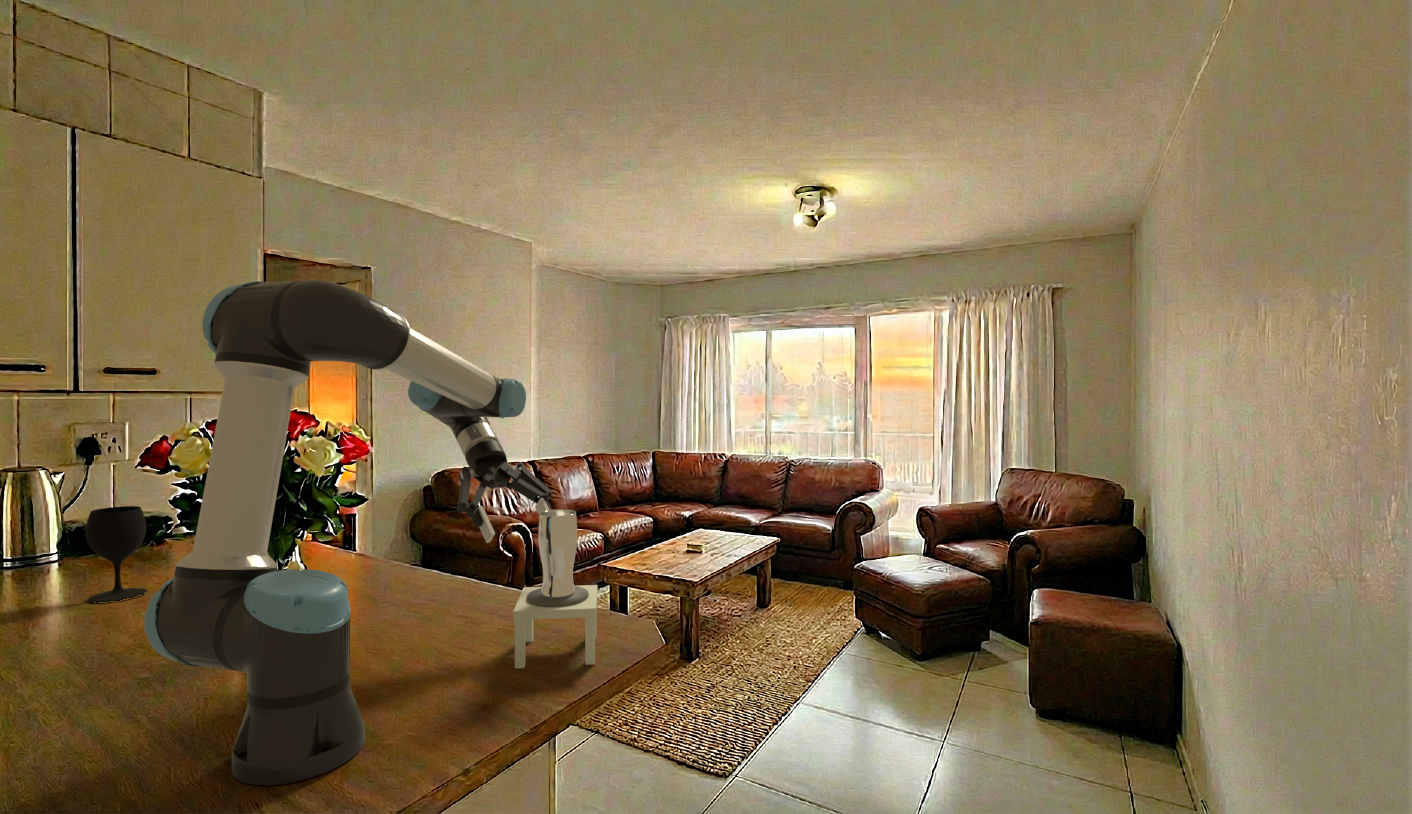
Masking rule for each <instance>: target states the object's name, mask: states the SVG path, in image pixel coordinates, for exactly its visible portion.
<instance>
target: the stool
mask: <svg viewBox="0 0 1412 814" xmlns="http://www.w3.org/2000/svg"><path fill="white" fill-rule="evenodd" d="M574 588H575V594H574V595H572V596H570V597H567V598H562V599H549V598H544V597H543V596H541V590H542V586H535V587H534V586H529V587H528V586H527V587H523V588H522V590H521V592H520V595H519V597H518V600H517V602H516V605H515V607H514V609H513V611H512V615H513V616H512V617H513V618H512V619H513V621H514V669H525V667H526V643H533V641H534V620H552V619H555V620H556V619H574V618H575V619H576V618H577V619H578V618H585V619H584V621H585V625H584V626H585V628H584V629H585V632H584V633H585V636H584V637H585V642H584V643H585V647H584V648H585V652H584V653H585V654H584V655H585V657H584V661H585V662H584V663H585V665H586V666H588V665H589V666H591V665H595V664H596V663H595V662H596V640H597V603H598V584H590V585H589V584H588V585H586V584H585V585H574Z"/></svg>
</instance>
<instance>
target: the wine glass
mask: <svg viewBox="0 0 1412 814" xmlns="http://www.w3.org/2000/svg"><path fill="white" fill-rule="evenodd" d="M86 521H87V522H86V525H85V537H86V542H87V544H88V546H89V548H90V549H91V550H92V552H94V553H95V554H96V555H98V556H99V557H102V558H103V559H104V560H108V561H110V562H111V563H112V565H113V569H114V587H113V589H112V590H107V591H104V592H99V593H97V594H96V593H95V594H94V595H91V596H90V597H88V599H87V602H88V601H90V602H96V603H99V602H110V601H120V600H123V599H127V598H133V597H136V596H138V595H143V594H144V593H145V592H147V593H148V590H147V589H145V588H141V587H127V588H123V585H122V581H121V579H122V578H121V571H122V570H121V568H122V562H123V561H124V560H125V559H126V558H128V557H129V556H131V555H132V554H133V553H134V552H136V550H138V548H139V547H141V545H142V543H143V542H144V539H145V537H146V533H147V522H146V517H145V514H144V512H143V509H142V508H141V506H137V505H134V506H133V505H128V506H127V505H126V506H124V505H123V506H122V505H121V506H113V507H112V506H111V507H104V508H98V509H93V510H91V511H90V512H89V515H88V517H87V520H86ZM143 596H144V595H143ZM90 602H89V603H90ZM120 602H121V601H120ZM96 603H95V604H96Z"/></svg>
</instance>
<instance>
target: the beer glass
mask: <svg viewBox="0 0 1412 814" xmlns="http://www.w3.org/2000/svg"><path fill="white" fill-rule="evenodd" d="M577 523H578V522H577V512H576V511H575V510H573V509H561V508H560V509H552V510H547V511H543V512H540V516H539V520H538V533H537V534H538V535H537V536H538V537H537V538H538V540H537V541H538V548H539V550H538V551H539V555H540V561H541V564H542V565H541V567H542V576H543V577H542V585H541V587H542V590H541V596H543V597H544V598H549V599H562V598H567V597H570V596H572V595H574V594H575V588H574V586H575V584H574V577H573V575H574V574H573V573H574V564H575V559H576V553H577V545H578V524H577Z"/></svg>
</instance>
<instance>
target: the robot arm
mask: <svg viewBox="0 0 1412 814" xmlns="http://www.w3.org/2000/svg"><path fill="white" fill-rule="evenodd" d="M201 325H202V326H201V327H202V335H203V338H204V339H205V340H207V341H208V343H207V345H208V347H209V349H210V350H211V351H212V352H213V353H214V354H215V359H214V364H213V366H214V367H215V369H216V370H217V371H218V372H219V373H220V374H221V376H222V377H223V379H224V382H223V388H222V393H221V397H220V398H221V399H220V403H219V409H218V413H217V420H216V425H215V431H214V436H213V442H212V447H211V452H210V458H209V461H208V462H209V464H208V467H207V472H206V478H205V483H204V489H203V494H202V501H201V505H200V510H199V516H198V520H197V527H196V532H195V538H194V543H193V549H191V552H189V553H188V554H187V555H185V556H184V557H183V558H181V559H180V560H178V561H177V562H176V564H175V570H174V575H173V577H171V578H170V579H168V580H167V581H165V582H164V583H163V584H162V585H161V588H160V589H159V590H158V591H155V592H154V593H153V595H152V596H151V598H150V600H149V602H148V605H147V606H146V609H145V615H144V619H143V620H144V632H145V636H146V638H147V641H148V643H149V645H150V646H151V647H152V648H153V650H155V652H157V654H159V655H160V656H162V657H163V658H165V659H168V660H172V661H174V662H178V663H180V664H182V665H187V666H191V667H207V668H208V667H209V668H214V669H223V670H229V671H234V672H235V671H236V672H243V673H246V693H247V694H246V695H247V696H246V697H247V700H246V702H247V704H246V706H247V707H246V709H245V711H244V715H243V718H242V720H241V723H240V725H239V726H240V727H239V729H238V732H237V735H236V738H235V741H234V744H233V748H232V750H231V755H230V756H231V774H232V775H233V777H234V778H235V779H236V780H237V781H240V782H241V783H244V784H248V785H252V786H253V785H254V786H276V785H277V786H278V785H285V784H290V783H296V782H300V781H305V780H307V779H312V778H314V777H318V776H319V775H323V774H325V773H327V772H329V771H332V770H334V769H337V768H339V767H340V766H341V765H344V764H345V763H347V762H348V761H350V760H351V759H352V758H353V757H354V756H356V755H357V754H358V753H359V752H360V751H361V749H362V748H363V747H364V744H365V741H366V738H365V737H366V730H365V728H366V727H365V726H366V725H365V720H364V718H363V715H362V713H361V710H360V708H359V706H358V702H357V701H356V698H355V695H354V693H353V691H352V688H351V681H350V679H351V678H350V675H351V672H350V669H351V668H350V665H351V664H350V663H351V662H350V661H351V659H350V657H351V654H350V653H351V651H350V650H351V639H350V638H351V637H350V636H351V613H352V612H351V605H350V601H349V590H348V586H347V583H346V582H345V581H344V580H343V579H342V578H341V577H340V576H338V575H336V574H334V573H331V572H328V571H323V570H318V569H308V568H304V569H301V570H299V569H293V568H292V569H291V568H289V569H283V570H282V569H281V570H277V568H278V564H277V563H276V561H275V560H274V559H273V558H272V557H271V556H270V555H269V552H268V548H269V542H270V537H271V531H272V524H273V518H274V513H275V507H276V501H277V494H278V489H279V484H280V483H279V482H280V478H281V471H282V465H283V459H284V458H283V457H284V454H285V448H286V441H287V437H288V429H289V423H290V419H291V418H290V417H291V412H292V410H291V409H292V405H293V400H294V399H293V398H294V394H295V389H297V387H299V386H300V385H302V384H304V383H305V382H306V381H308V380H309V375H310V368H311V363H312V362H343V363H344V362H345V363H351V364H355V365H356V364H357V365H360V366H362V367H363V368H364V367H365V368H367V369H369V370H374V371H379V370H387V371H389V372H391V373H394V374H396V375H398V376H400V377H402V378H404V379H406V380H408V381H410V383H409V385H408V389H407V396H408V398H409V401H411V403H413V404H414V405H415V406H416V407H417V408H418V409H420V411H422V412H425V413H426V414H429V415H430V416H431V417H433V418H434V419H436V420H438V421H440V422H441V423H442V424H444V425H445V426H447V427H449V428H450V430H451V431H452V433H453V436H454V438H455V440H456V442H457V445H458V447H459V448H460V450H461V452H462V455H463V457H465V458H464V459H465V461H466V463H467V466H462V468H461V470H460V472H459V474H458V480H459V482H460V487H459V491H458V492H459V493H458V501H457V506H456V512H457V513H459V514H463V513H465V516H466V517H467V518H471V521H472V523H473V525H474V526H475V527H476V528H479V530H480V532H481V535H482V537H483V539H484V540H485V543H486V544H489V543H492V542H491V541H492V540H493V538H494V536H495V535H496V532H495V530H494V528H493V525H492V524H491V522H490V519H489V517H488V515H487V512H486V510H485V509H484V506H483V505H481V506H479V504H480V501H481V500H482V497H483V495H484V493H485V491H486V489H487V488H489V489H490V490H492V489H496V488H501V489H502V488H503V489H504V488H507V489H509V490H514V491H515V492H516V493H518V494H520V495H522V496H523V497H525V498H526V499H528V500H530V501H532V502H533V503H535V509H536V512H537V514H538V515H539V517H540V512H543V511H547V510H553V509H552V507H551V505H550V503H549V500H550V498H551V497H552V495H553V494H554V493H553V491H552V490H551V489H550V488H549V487H548V486H547V485H545V483H543V482H542V481H541V480H540V479H539V478H537V477H536V476H535V475H534V474H533V473H532V472H530V470H528V468H527V467H526V466H525V464H524V462H521V461H519V462H518V463H517V465H516V464H515V465H511V464H510V463H509V462H508V459H507V454H506V452H505V451H504V448H503V446H502V445H501V443H500V440H499V439H498V436H497V434H496V432H495V431H494V428H493V427H492V425H491V423H490V421H489V419H488V418H501V419H505V418H516V417H518V416H520V415H521V414H522V413H523V411H524V409H525V407H526V401H527V393H526V389H525V387H524V385H523V383H522V382H521V381H520V380H518V379H514V378H513V379H511V378H507V377H506V378H499V377H496V376H494V375H493V374H490V373H489V372H487V371H486V370H484V369H482V368H480V367H479V366H477V365H475V364H474V363H472V362H470V361H468V360H466V359H465V358H464V357H461V356H460V355H458V354H456V353H455V352H453V351H451V350H449V349H447V348H446V347H444V346H443V345H442V344H439V343H437V342H435V341H434V340H432V339H430V338H429V337H427V336H425V335H423V334H422V333H420V332H418V331H417V330H415V329H413V328H412V327H410V324H409V323H408V321H407V319H406V318H405V317H404V315H402V314H401V313H400V312H398V311H396V310H394V309H392V308H391V307H389V306H387V305H385V304H384V303H381V302H380V301H378V300H376V299H374V298H372V297H370V296H368V295H366V294H364V293H362V292H359V291H357V290H354V289H353V288H350V287H346V286H344V285H342V284H340V283H339V284H338V283H335V282H332V281H326V280H320V279H319V280H318V279H307V280H306V279H304V280H291V281H289V280H287V281H264V280H262V281H261V280H260V281H258V280H257V281H249V282H245V283H241V284H234V285H230V286H228V287H226V288H224V289H222V290H221V291H220V290H219V292H217V293H216V294H215V295H214V296H213V298H212V299H210V301H209V302H208V304H207V305H206V308H205V310H204V313H203V316H202V324H201ZM473 478H474V480H477V482H479V485H478V487H477V490H476V491H475V494H474V495H473V498H472V500H471V502H469V498H470V489H471V488H470V487H471V482H472V481H471V480H472V479H473ZM511 479H512V481H510V480H511Z"/></svg>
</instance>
